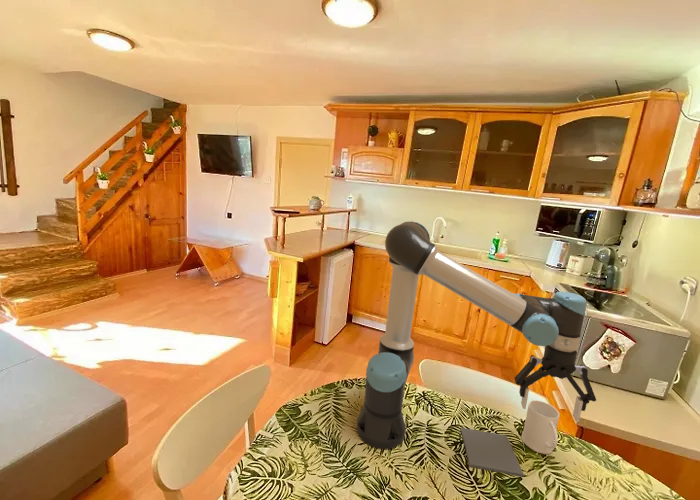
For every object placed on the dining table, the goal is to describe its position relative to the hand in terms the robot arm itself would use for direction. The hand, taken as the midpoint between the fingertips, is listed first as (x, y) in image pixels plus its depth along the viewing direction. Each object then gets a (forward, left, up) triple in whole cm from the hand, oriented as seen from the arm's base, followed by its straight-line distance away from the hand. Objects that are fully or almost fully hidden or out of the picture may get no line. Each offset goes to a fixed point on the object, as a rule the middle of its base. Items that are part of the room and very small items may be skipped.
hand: (548, 412), depth 92 cm
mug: (0, 0, -13) cm, 13 cm away
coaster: (-15, -8, -12) cm, 21 cm away
